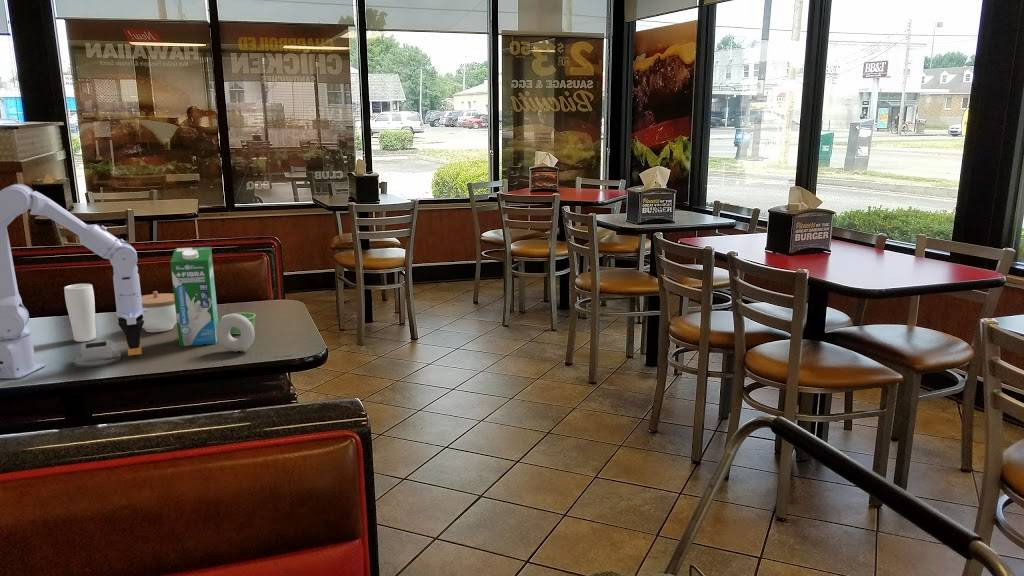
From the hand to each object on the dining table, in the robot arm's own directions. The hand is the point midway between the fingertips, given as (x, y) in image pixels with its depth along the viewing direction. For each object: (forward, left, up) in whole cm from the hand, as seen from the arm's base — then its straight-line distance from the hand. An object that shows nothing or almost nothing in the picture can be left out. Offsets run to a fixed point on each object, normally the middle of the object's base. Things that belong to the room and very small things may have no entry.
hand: (133, 346), depth 185 cm
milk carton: (+15, -10, -3) cm, 18 cm away
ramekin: (+25, -17, -3) cm, 30 cm away
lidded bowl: (+27, +7, -3) cm, 28 cm away
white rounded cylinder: (+16, +22, -3) cm, 27 cm away
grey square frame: (-3, +7, -3) cm, 9 cm away
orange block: (0, 0, -2) cm, 2 cm away
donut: (+5, -24, -3) cm, 25 cm away
